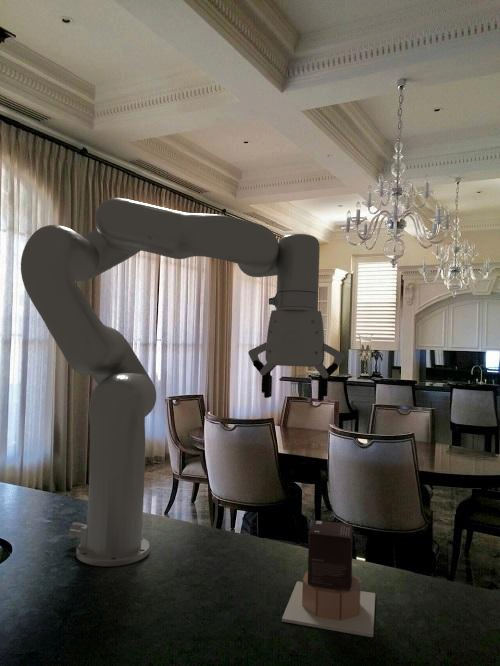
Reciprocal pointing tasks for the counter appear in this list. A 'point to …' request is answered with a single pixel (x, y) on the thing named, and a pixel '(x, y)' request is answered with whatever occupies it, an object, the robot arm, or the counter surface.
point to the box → (330, 555)
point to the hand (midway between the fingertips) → (294, 398)
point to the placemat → (353, 625)
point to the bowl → (332, 600)
